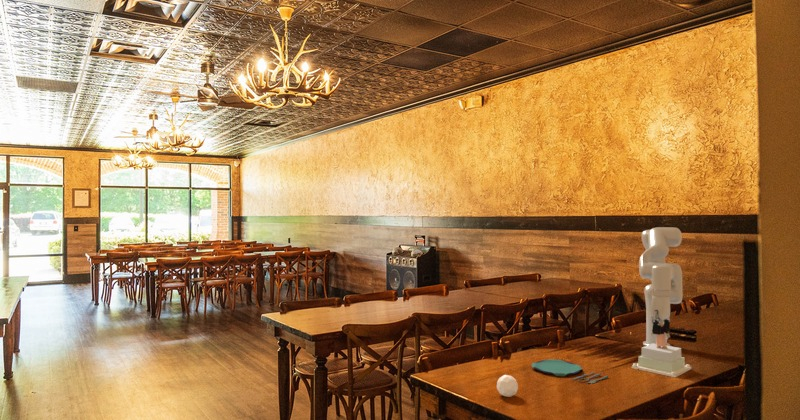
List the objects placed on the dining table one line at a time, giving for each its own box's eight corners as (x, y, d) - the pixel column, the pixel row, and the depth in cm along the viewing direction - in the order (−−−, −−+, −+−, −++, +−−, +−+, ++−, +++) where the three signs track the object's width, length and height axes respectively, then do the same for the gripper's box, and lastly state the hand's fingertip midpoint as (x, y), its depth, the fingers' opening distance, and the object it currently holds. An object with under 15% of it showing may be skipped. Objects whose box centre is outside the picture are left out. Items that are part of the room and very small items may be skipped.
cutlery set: (552, 361, 240) (552, 356, 240) (612, 379, 216) (612, 373, 216) (523, 369, 228) (523, 364, 228) (583, 389, 204) (583, 383, 204)
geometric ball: (502, 404, 192) (489, 386, 193) (509, 390, 199) (496, 373, 199) (518, 398, 188) (504, 380, 188) (525, 384, 194) (511, 367, 194)
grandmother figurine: (669, 347, 229) (669, 318, 229) (670, 349, 225) (670, 320, 226) (650, 345, 232) (650, 317, 232) (650, 347, 228) (650, 318, 229)
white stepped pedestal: (649, 360, 241) (648, 340, 241) (691, 369, 228) (691, 348, 228) (631, 368, 229) (631, 347, 229) (675, 377, 216) (675, 355, 216)
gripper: (660, 290, 238) (660, 327, 238) (644, 294, 226) (644, 334, 226) (677, 292, 232) (677, 330, 232) (662, 296, 220) (662, 337, 220)
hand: (661, 332), depth 229 cm, fingers open, 9 cm apart
